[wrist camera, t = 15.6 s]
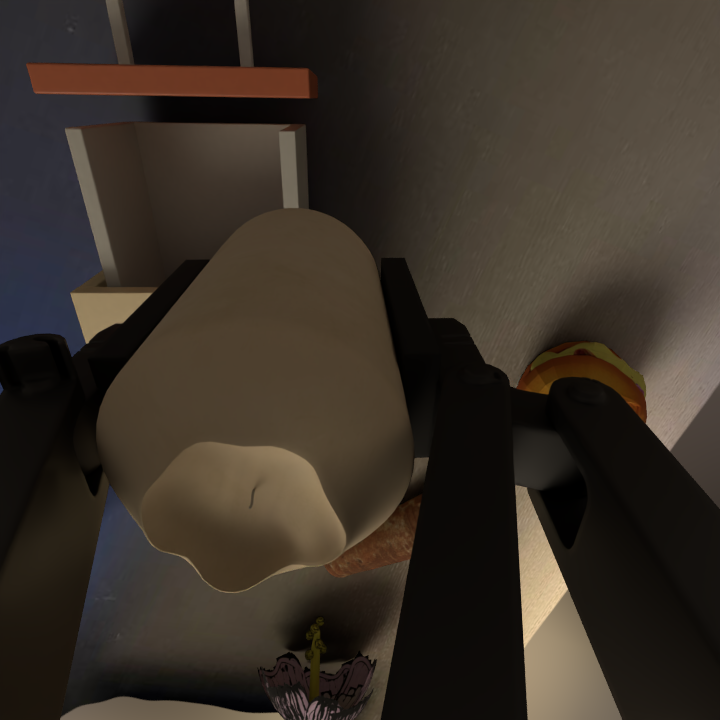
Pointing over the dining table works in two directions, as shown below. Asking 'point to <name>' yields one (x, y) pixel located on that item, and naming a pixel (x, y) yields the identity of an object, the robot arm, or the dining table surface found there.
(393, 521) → the brown sausage
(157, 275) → the drawer
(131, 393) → the candle
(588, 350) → the cheeseburger
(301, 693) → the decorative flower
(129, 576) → the dining table surface
